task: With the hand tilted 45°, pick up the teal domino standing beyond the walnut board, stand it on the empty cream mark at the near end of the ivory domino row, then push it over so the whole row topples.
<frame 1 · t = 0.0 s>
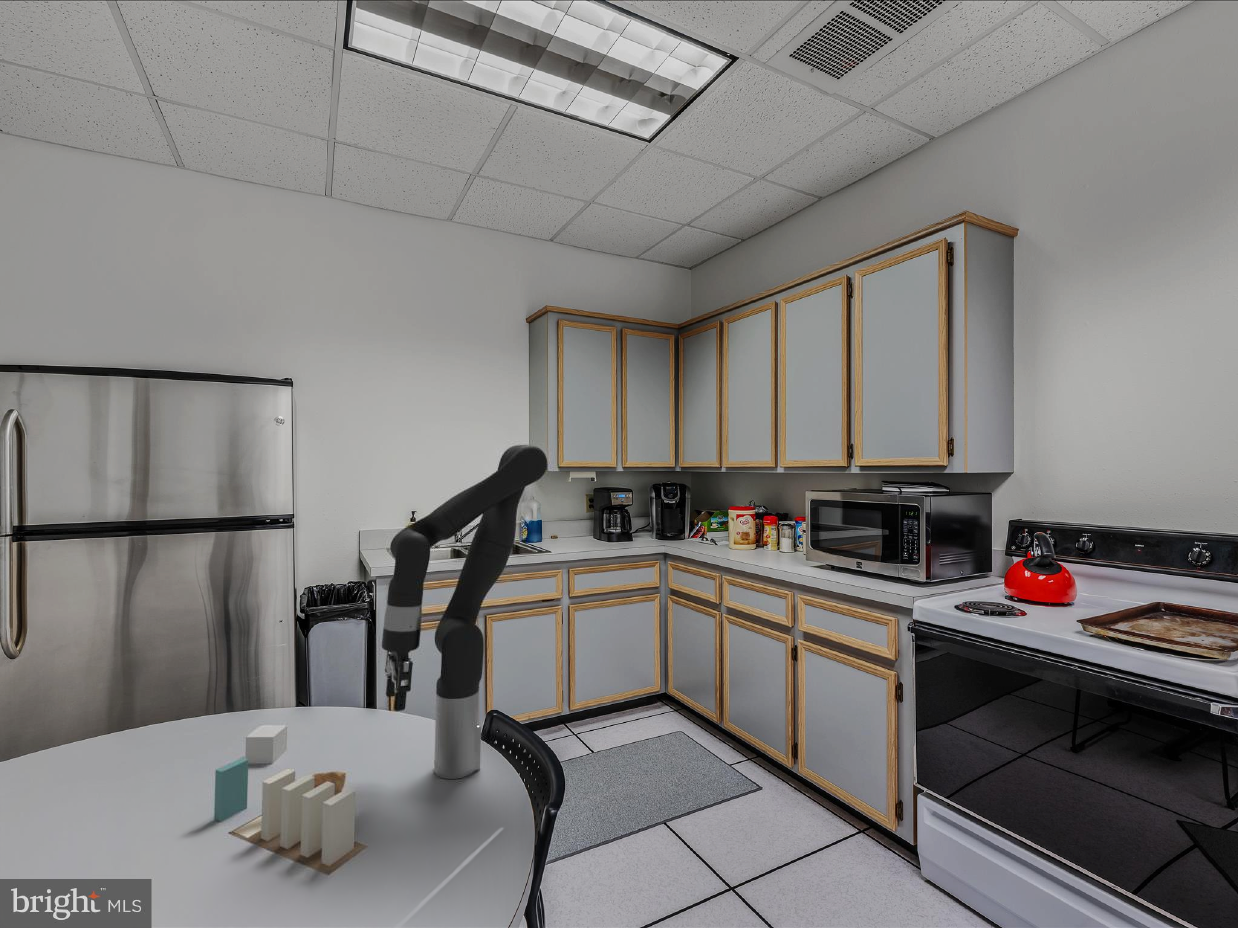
hand: (395, 702, 123), 17 cm above the table, fingers open, 8 cm apart
white cube: (266, 758, 133), on the table
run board: (296, 843, 103), on the table
teal domino: (230, 817, 110), on the table
domino 4: (338, 855, 99), point 1 cm above the table, touching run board
shard: (334, 789, 122), on the table
domino 1: (277, 831, 105), point 1 cm above the table, touching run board
domino 3: (317, 847, 101), point 1 cm above the table, touching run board
domino 2: (297, 839, 103), point 1 cm above the table, touching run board
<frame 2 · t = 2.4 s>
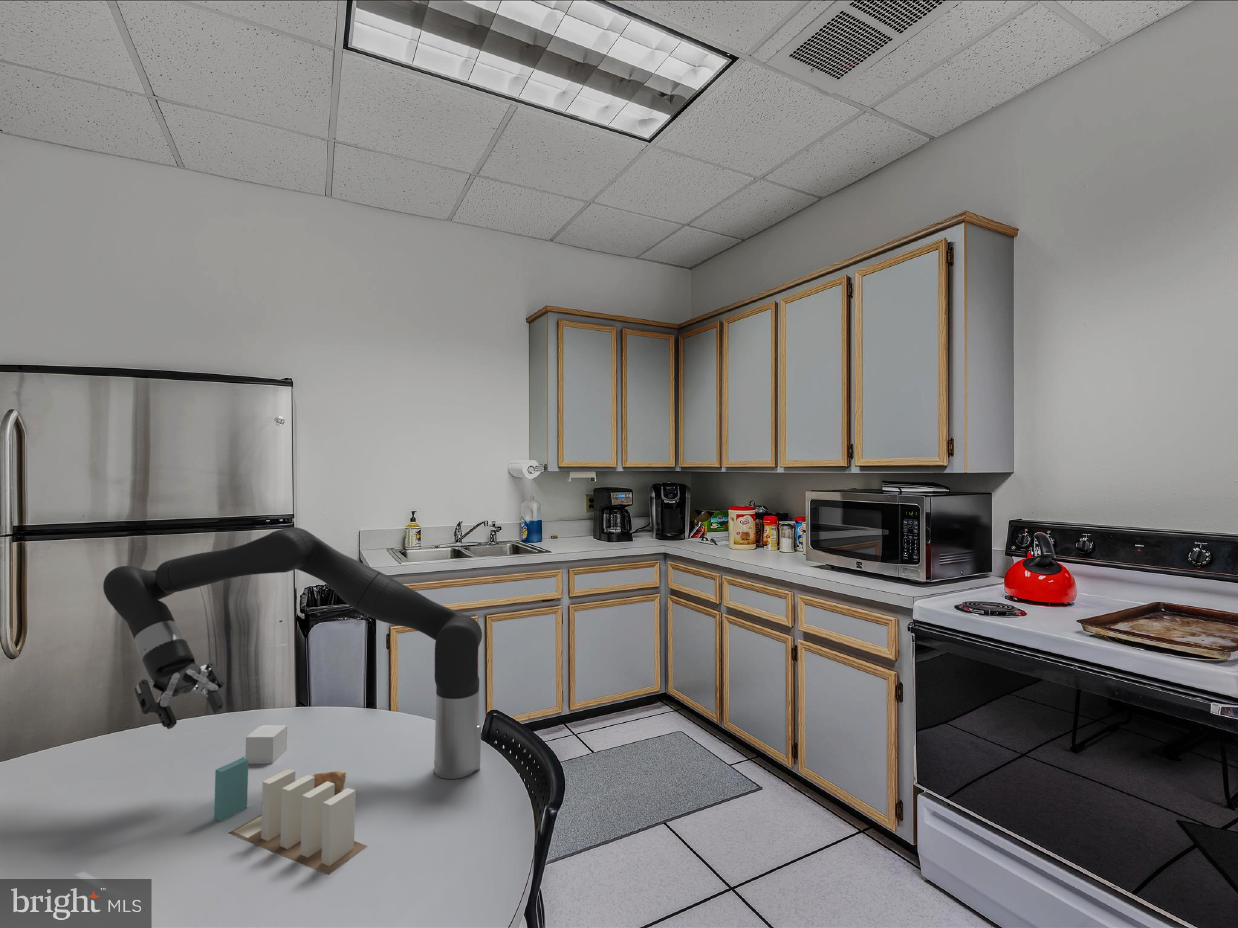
hand: (196, 717, 114), 17 cm above the table, fingers open, 8 cm apart
nothing on the table moved.
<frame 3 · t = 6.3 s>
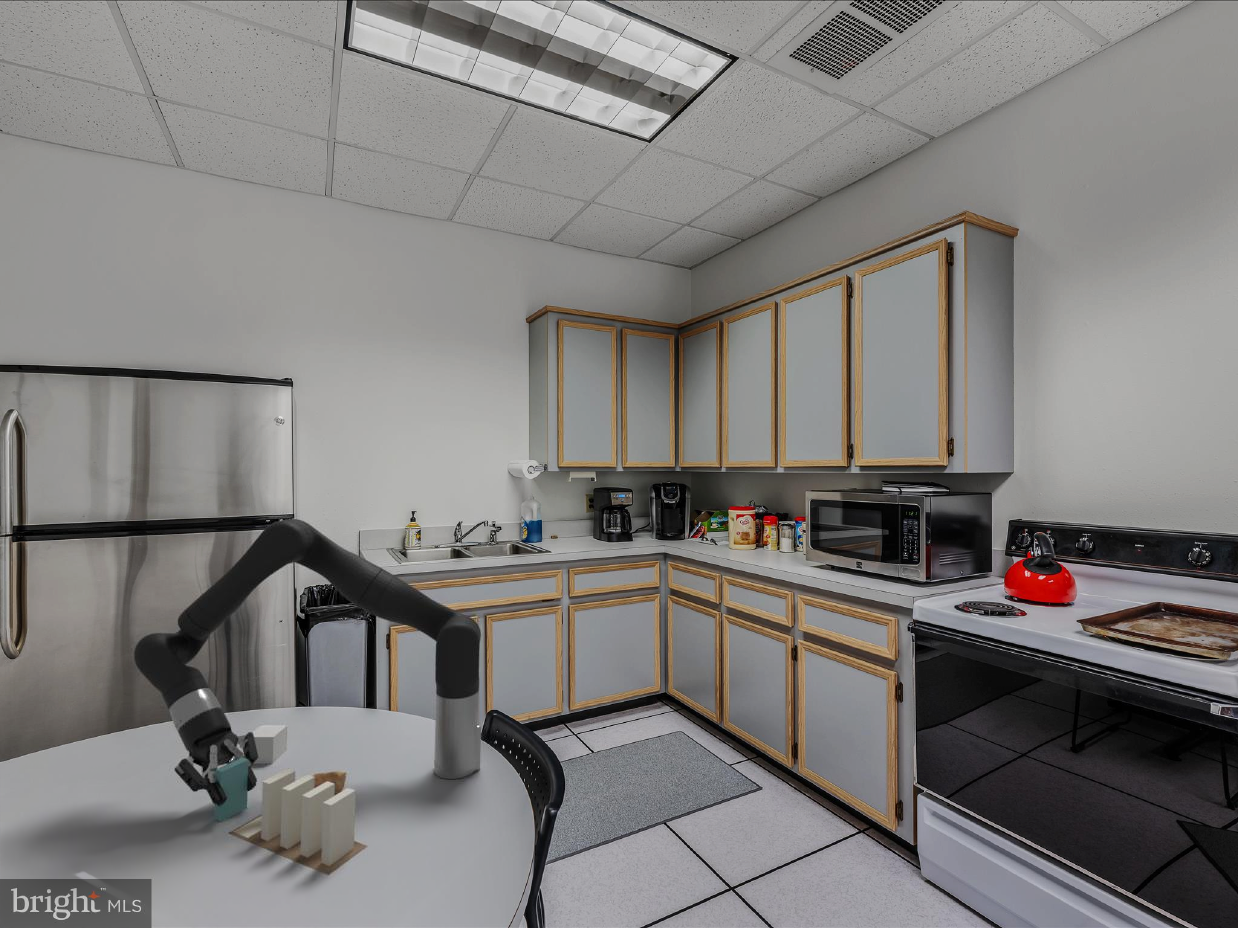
hand: (237, 794, 110), 5 cm above the table, fingers closed on teal domino, 5 cm apart
teal domino: (230, 817, 110), on the table, touching gripper
everything else where it was.
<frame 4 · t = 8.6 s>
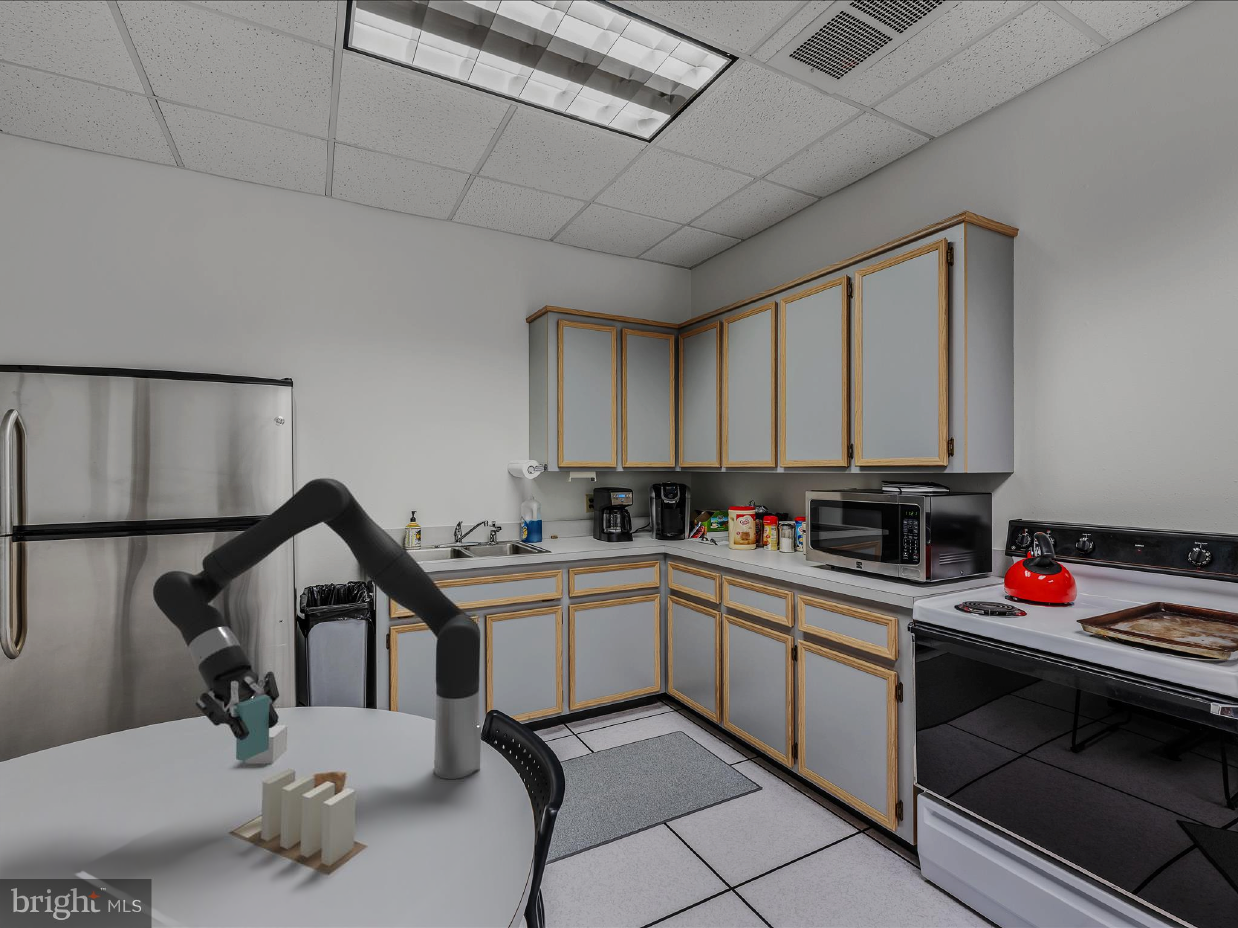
hand: (259, 730, 108), 18 cm above the table, fingers closed on teal domino, 5 cm apart
teal domino: (252, 753, 109), point 13 cm above the table, touching gripper
everything else where it was.
when the fingers open (7 cm above the table, at t = 11.1 s): teal domino drops 1 cm, resting on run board.
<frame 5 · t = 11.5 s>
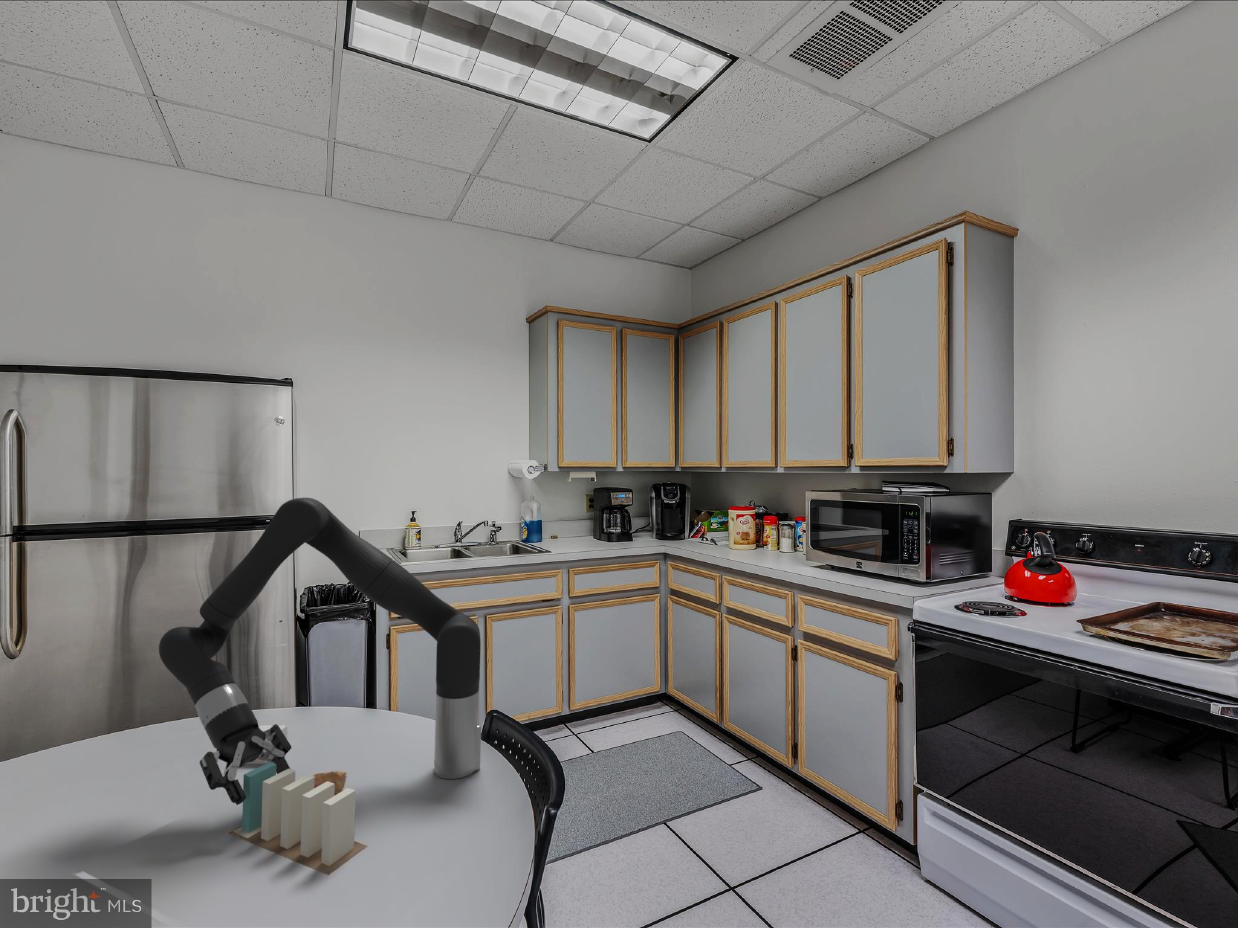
hand: (265, 789, 107), 7 cm above the table, fingers open, 8 cm apart
teal domino: (258, 823, 107), point 1 cm above the table, touching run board
everything else where it was.
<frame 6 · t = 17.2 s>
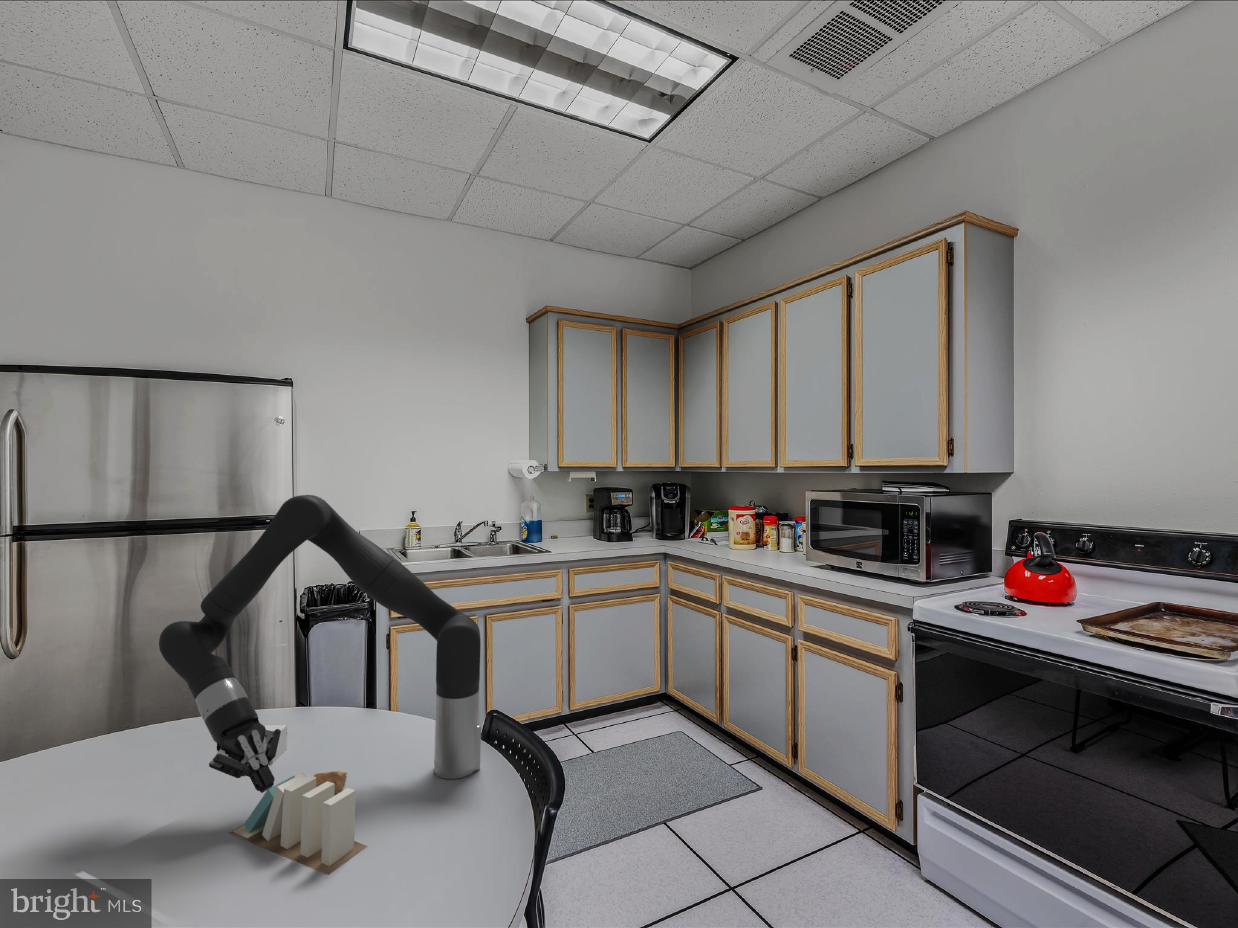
hand: (268, 788, 107), 8 cm above the table, fingers closed
teal domino: (259, 821, 107), point 1 cm above the table, tilted 38°, touching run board
domino 1: (278, 829, 105), point 1 cm above the table, tilted 21°, touching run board
everything else where it was.
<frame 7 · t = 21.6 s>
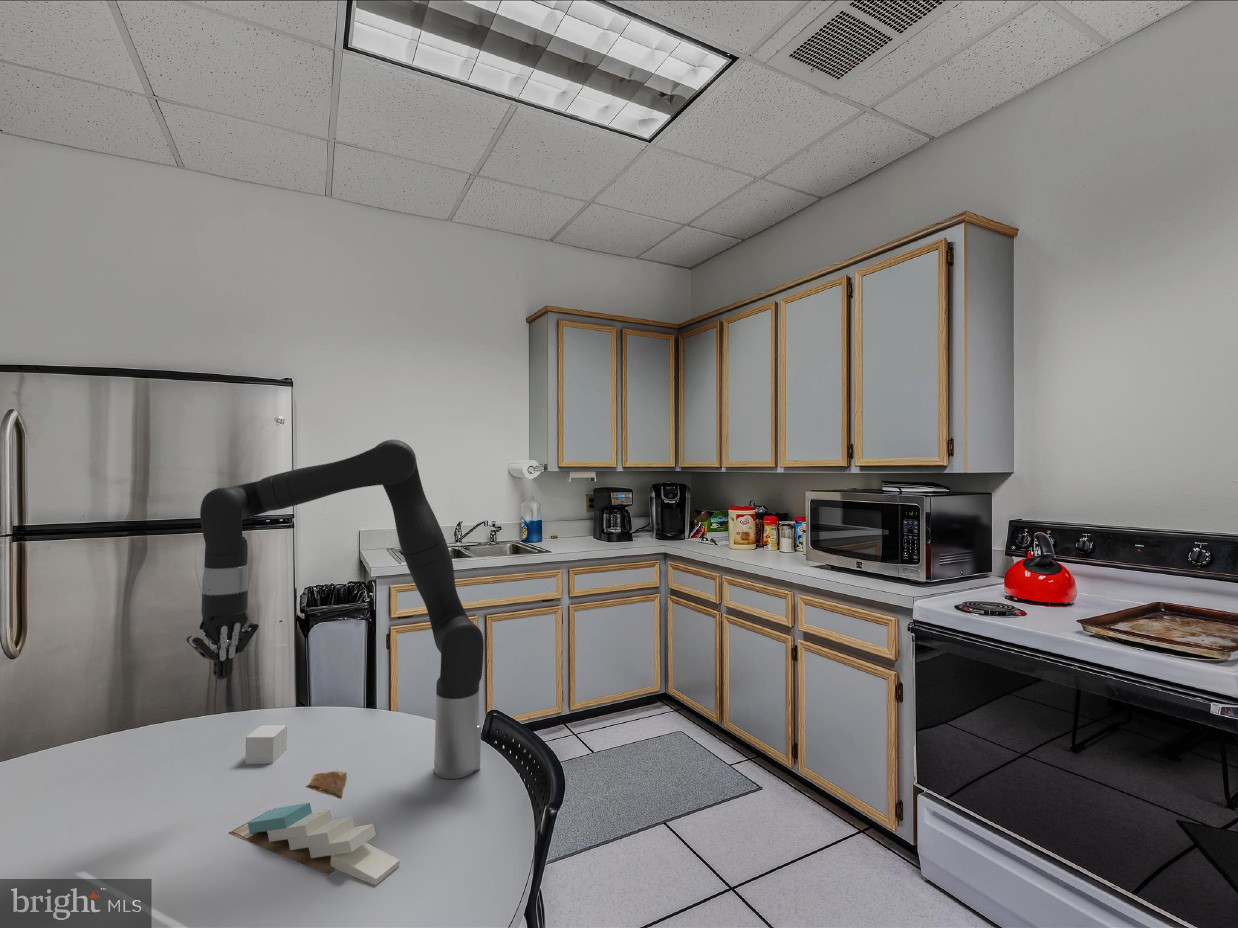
hand: (222, 677, 114), 25 cm above the table, fingers closed
teal domino: (262, 820, 107), point 2 cm above the table, tilted 70°, touching domino 1, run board
domino 4: (343, 851, 99), point 2 cm above the table, tilted 95°, touching domino 3, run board
domino 1: (281, 828, 105), point 2 cm above the table, tilted 69°, touching domino 2, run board, teal domino
domino 3: (322, 843, 101), point 2 cm above the table, tilted 68°, touching domino 2, domino 4
domino 2: (302, 836, 103), point 2 cm above the table, tilted 68°, touching domino 1, domino 3, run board
everything else where it was.
at the end: teal domino inside the target area on the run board (0.7 cm from its centre), point 1.7 cm above the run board's base; domino 4 tilted 95°; domino 2 tilted 68° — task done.
